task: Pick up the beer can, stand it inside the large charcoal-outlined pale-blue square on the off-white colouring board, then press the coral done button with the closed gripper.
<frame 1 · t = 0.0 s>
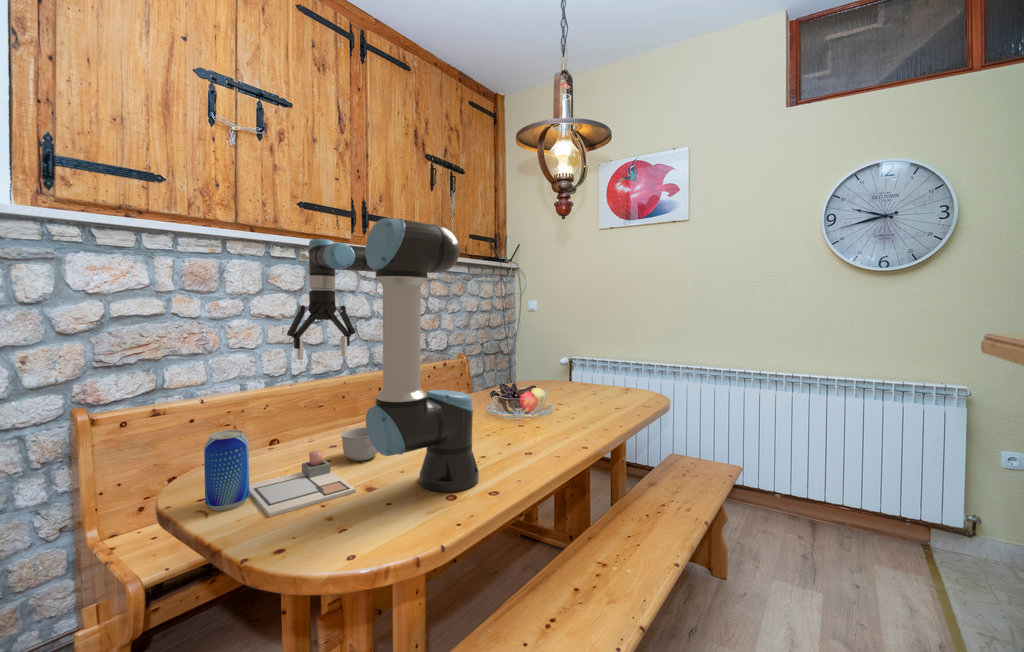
hand: (322, 357, 142), 28 cm above the table, fingers open, 13 cm apart
teacup: (364, 456, 134), on the table
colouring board: (300, 490, 110), on the table
done button: (315, 458, 119), point 5 cm above the table, slide at 0.0 cm
beer can: (227, 504, 102), on the table
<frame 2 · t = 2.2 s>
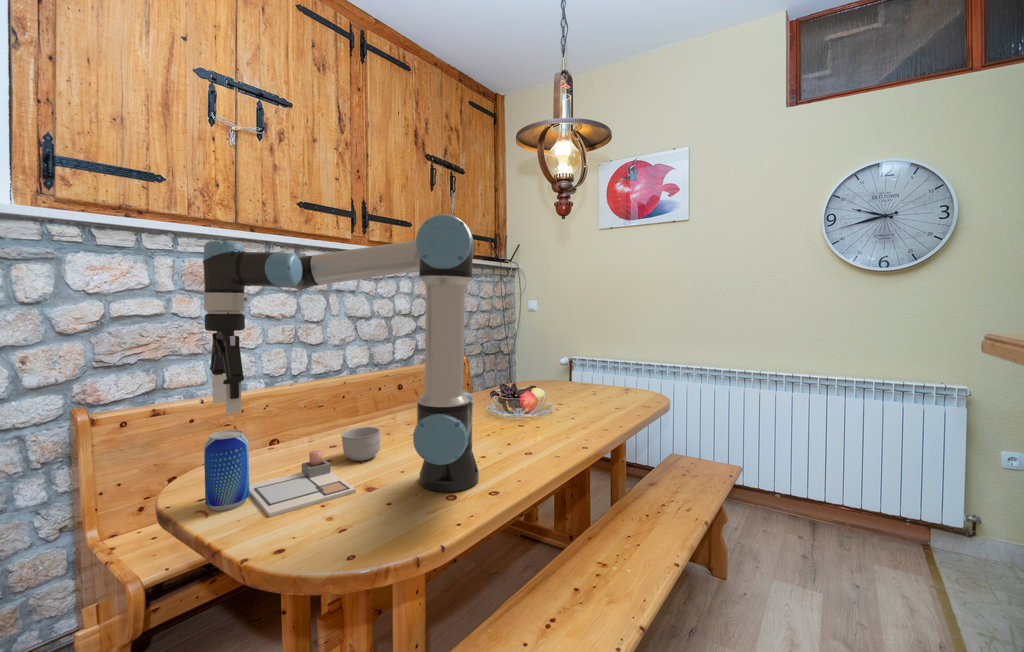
hand: (226, 407, 101), 22 cm above the table, fingers open, 13 cm apart
nothing on the table moved.
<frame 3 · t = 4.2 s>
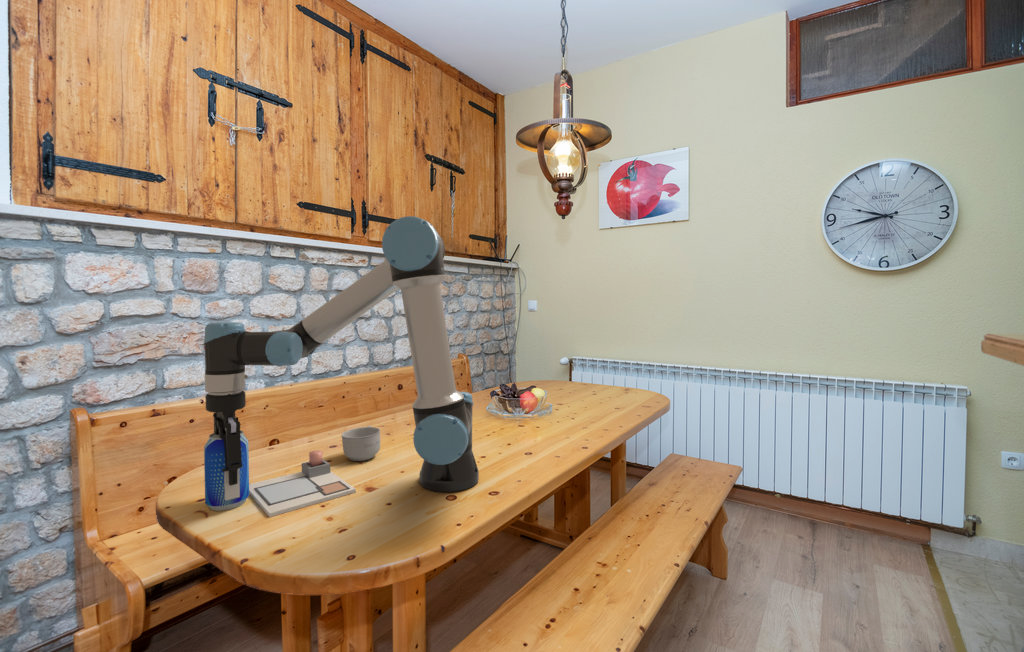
hand: (227, 491, 102), 3 cm above the table, fingers closed on beer can, 8 cm apart
beer can: (227, 504, 102), on the table, touching gripper
everything else where it was.
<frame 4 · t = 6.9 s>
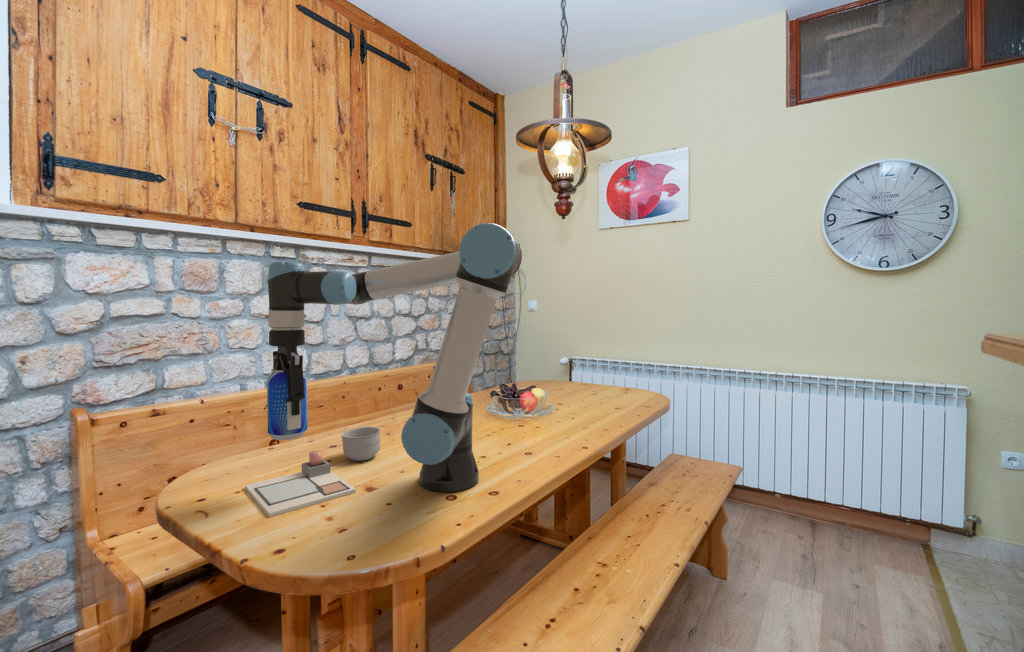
hand: (288, 424, 107), 17 cm above the table, fingers closed on beer can, 8 cm apart
beer can: (287, 436, 107), point 14 cm above the table, touching gripper
everything else where it was.
when the fingers open (5 cm above the table, at t = 9.3 s): beer can drops 1 cm, resting on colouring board.
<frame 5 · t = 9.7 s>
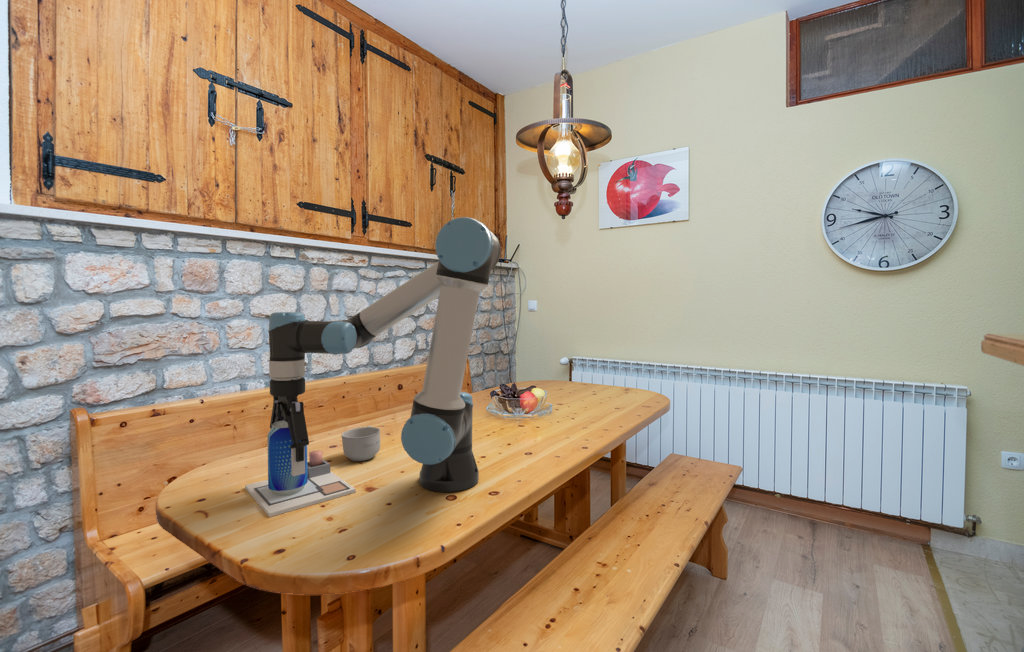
hand: (288, 466, 107), 6 cm above the table, fingers open, 13 cm apart
beer can: (288, 490, 108), point 1 cm above the table, touching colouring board
everything else where it was.
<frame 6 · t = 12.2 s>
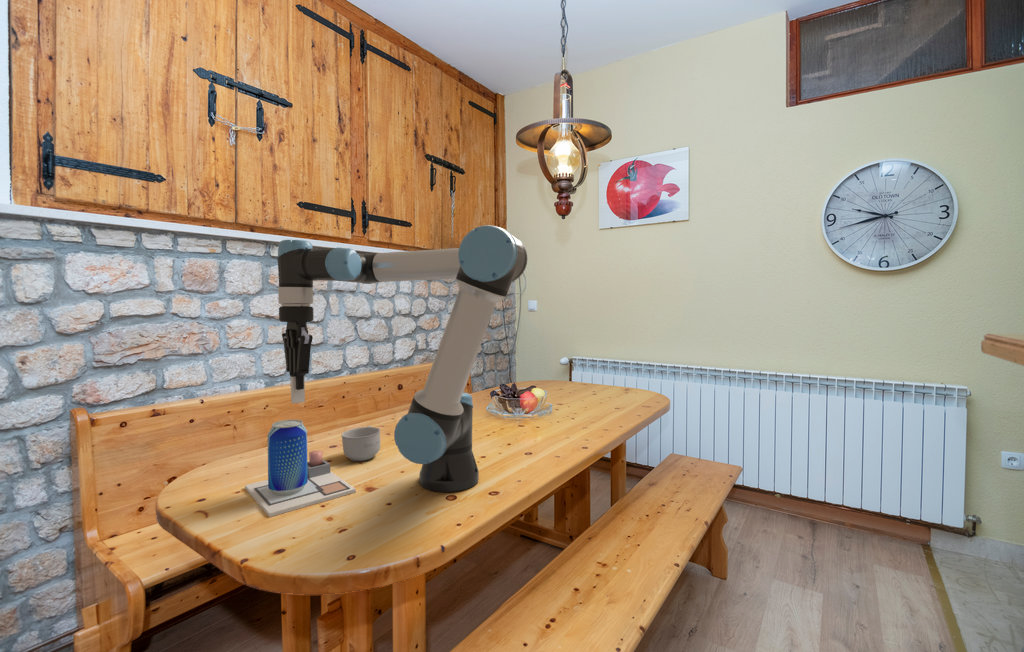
hand: (297, 402, 110), 21 cm above the table, fingers closed
nothing on the table moved.
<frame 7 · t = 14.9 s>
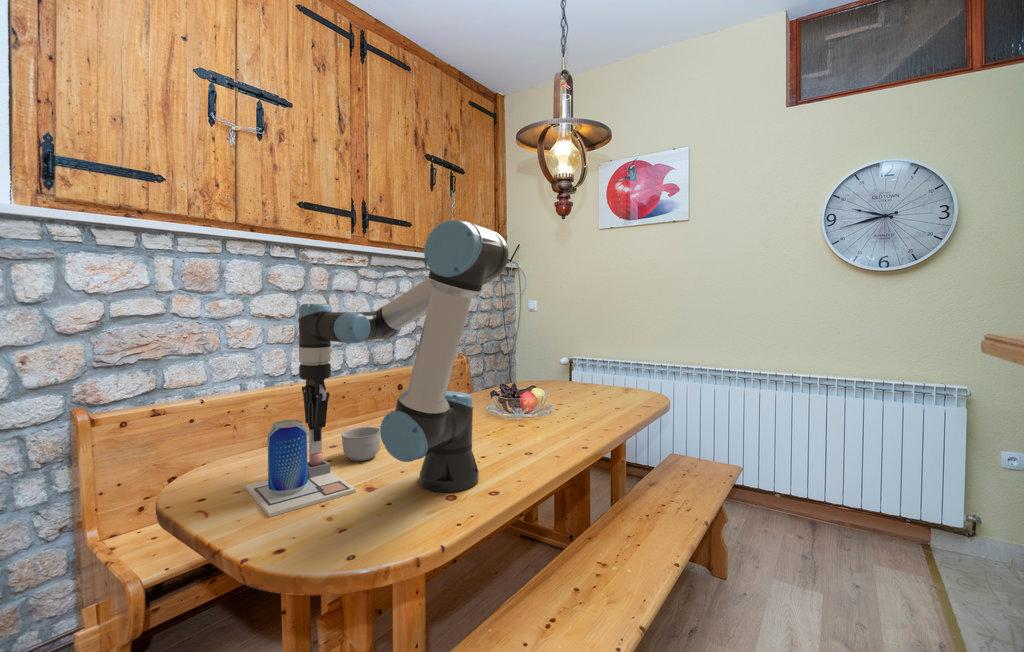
hand: (315, 452, 119), 6 cm above the table, fingers closed
done button: (315, 458, 119), point 4 cm above the table, slide at 0.3 cm, touching gripper
everything else where it was.
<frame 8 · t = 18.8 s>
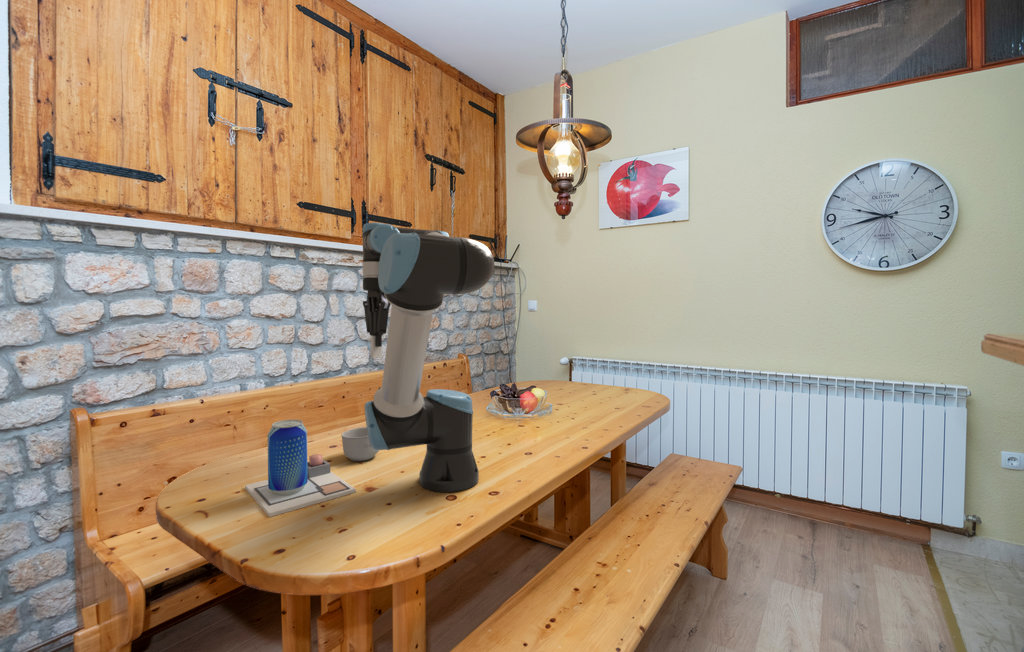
hand: (376, 357, 134), 29 cm above the table, fingers closed
done button: (315, 461, 119), point 4 cm above the table, slide at 1.0 cm
everything else where it was.
at the end: beer can 0.2 cm from the target spot, point 0.7 cm above the table; beer can tilted 0°; done button slide at 1.0 cm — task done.
